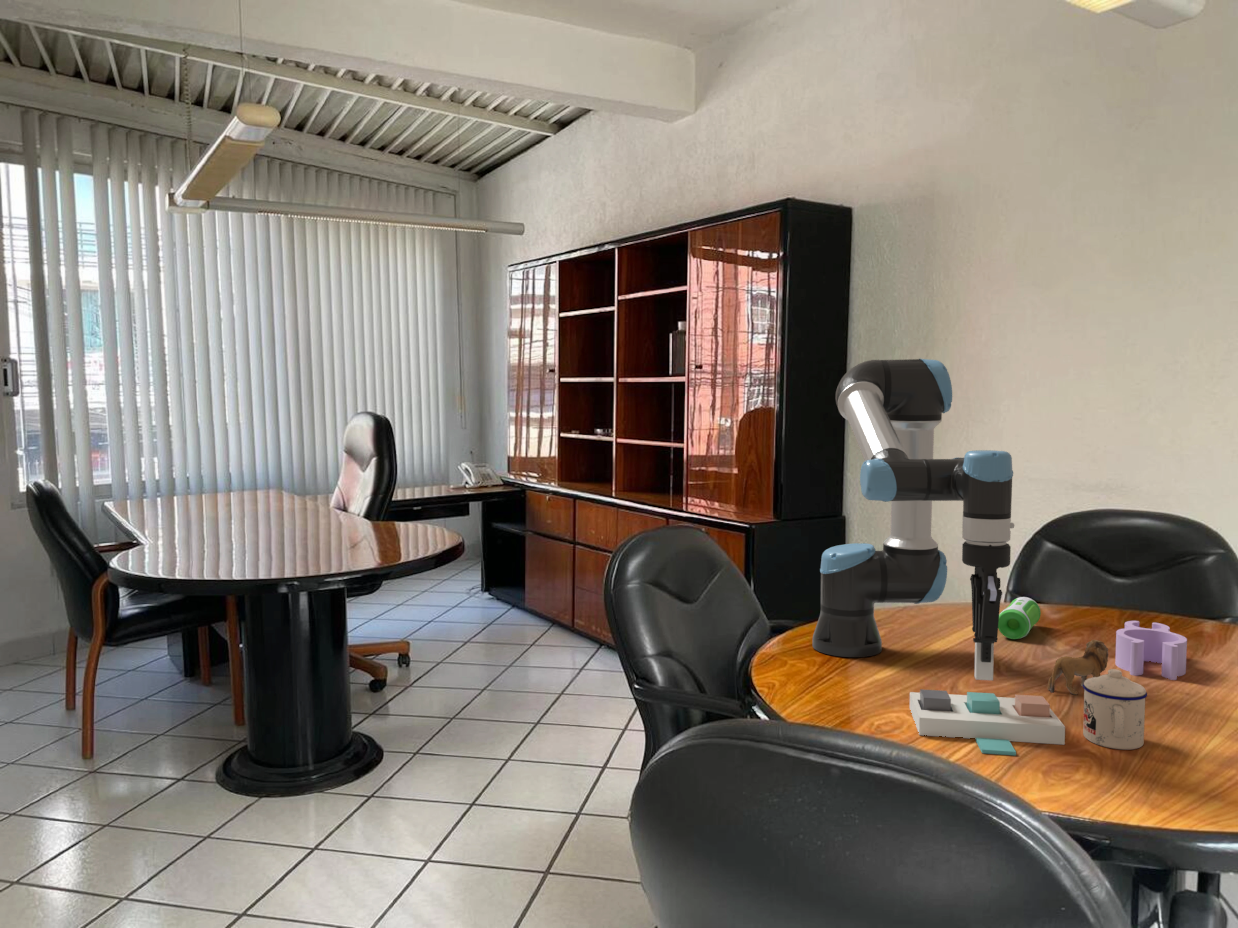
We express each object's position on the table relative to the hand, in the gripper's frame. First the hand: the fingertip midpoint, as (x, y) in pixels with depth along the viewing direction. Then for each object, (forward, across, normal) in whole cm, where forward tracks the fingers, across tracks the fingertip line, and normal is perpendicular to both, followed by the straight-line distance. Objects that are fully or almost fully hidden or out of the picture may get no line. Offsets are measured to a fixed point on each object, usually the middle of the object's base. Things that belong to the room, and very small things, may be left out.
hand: (983, 678), depth 148 cm
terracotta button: (+6, 0, -8) cm, 10 cm away
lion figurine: (+8, +24, -22) cm, 33 cm away
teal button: (+6, 0, 0) cm, 6 cm away
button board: (+8, 0, 0) cm, 8 cm away
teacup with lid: (+9, -4, -19) cm, 21 cm away
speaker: (+8, +65, -21) cm, 69 cm away
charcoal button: (+6, 0, +8) cm, 10 cm away
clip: (+9, +43, -41) cm, 60 cm away
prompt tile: (+8, -10, 0) cm, 13 cm away
